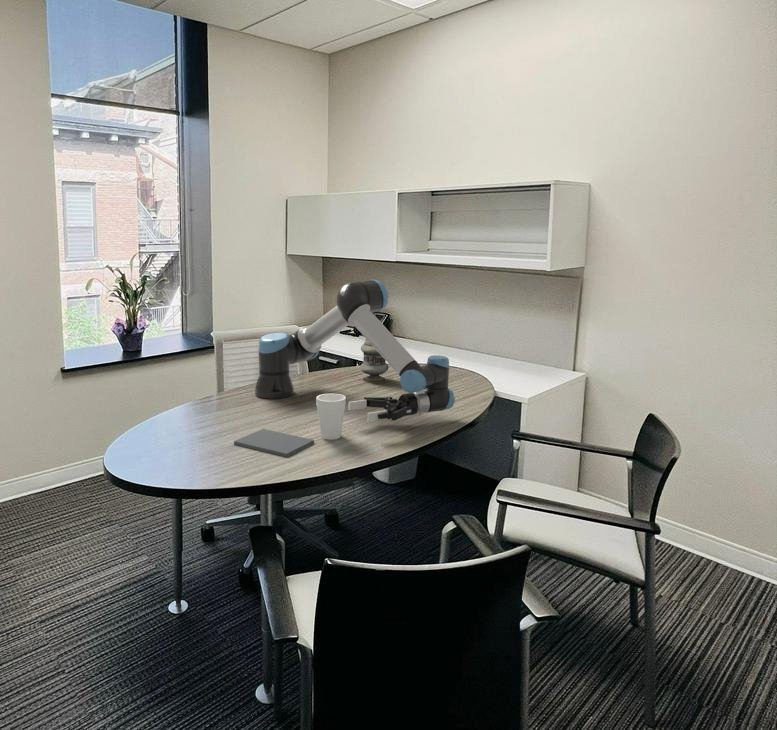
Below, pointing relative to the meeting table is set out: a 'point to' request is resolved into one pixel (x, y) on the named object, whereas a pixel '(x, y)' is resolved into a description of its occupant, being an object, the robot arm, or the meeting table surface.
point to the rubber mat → (274, 442)
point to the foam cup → (330, 414)
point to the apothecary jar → (373, 363)
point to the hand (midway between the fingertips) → (358, 411)
